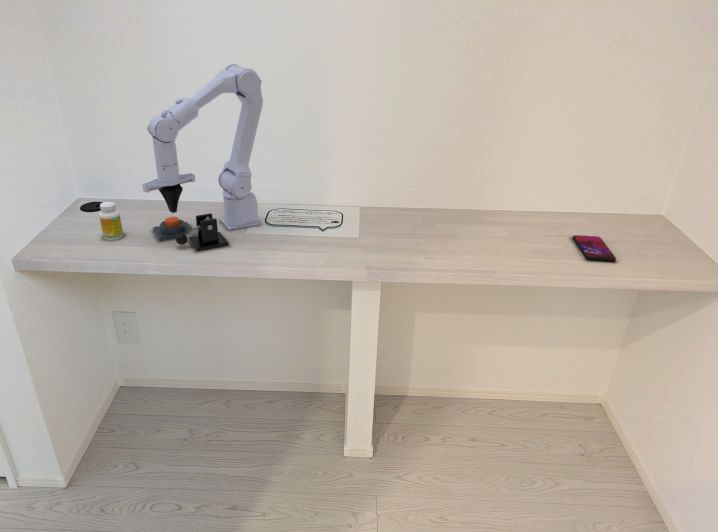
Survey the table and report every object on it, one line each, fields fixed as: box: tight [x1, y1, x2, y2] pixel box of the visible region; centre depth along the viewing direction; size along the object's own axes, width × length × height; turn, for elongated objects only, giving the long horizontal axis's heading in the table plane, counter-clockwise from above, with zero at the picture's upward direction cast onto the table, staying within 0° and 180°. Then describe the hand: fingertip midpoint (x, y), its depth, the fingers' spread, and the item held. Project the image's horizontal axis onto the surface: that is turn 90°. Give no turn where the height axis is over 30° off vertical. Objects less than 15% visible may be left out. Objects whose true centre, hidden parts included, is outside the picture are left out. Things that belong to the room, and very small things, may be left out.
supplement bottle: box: [98, 201, 124, 241], centre depth 161 cm, size 5×5×10 cm
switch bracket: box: [188, 212, 230, 253], centre depth 158 cm, size 9×8×8 cm
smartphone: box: [572, 234, 617, 262], centre depth 159 cm, size 8×1×15 cm
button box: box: [152, 218, 193, 242], centre depth 165 cm, size 10×8×3 cm
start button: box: [164, 216, 180, 227], centre depth 164 cm, size 4×4×2 cm
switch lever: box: [175, 216, 210, 246], centre depth 156 cm, size 11×3×3 cm, turn 116°
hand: (173, 211), depth 159 cm, fingers closed
